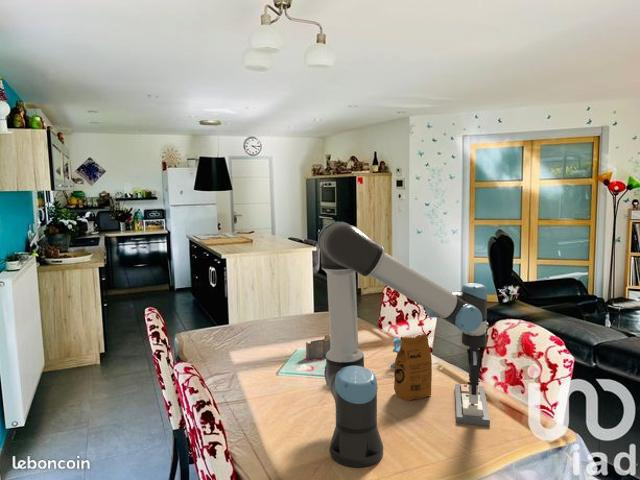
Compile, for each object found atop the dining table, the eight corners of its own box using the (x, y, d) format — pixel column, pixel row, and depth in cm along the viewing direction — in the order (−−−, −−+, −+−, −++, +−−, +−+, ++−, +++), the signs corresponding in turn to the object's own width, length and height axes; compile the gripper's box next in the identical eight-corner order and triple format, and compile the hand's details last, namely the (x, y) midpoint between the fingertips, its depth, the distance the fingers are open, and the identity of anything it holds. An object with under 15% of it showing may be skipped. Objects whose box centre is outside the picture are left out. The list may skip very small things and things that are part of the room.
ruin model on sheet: (328, 354, 218) (328, 333, 217) (331, 356, 215) (331, 335, 214) (305, 358, 213) (305, 337, 212) (308, 360, 210) (308, 339, 209)
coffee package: (390, 391, 177) (390, 333, 174) (420, 386, 181) (420, 329, 178) (404, 403, 167) (404, 341, 165) (434, 397, 172) (435, 337, 169)
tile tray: (489, 426, 151) (489, 420, 150) (456, 422, 153) (456, 416, 153) (483, 391, 176) (483, 386, 175) (455, 389, 178) (455, 383, 178)
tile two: (480, 409, 161) (481, 401, 160) (462, 407, 162) (462, 400, 162) (479, 401, 166) (479, 394, 166) (461, 400, 168) (461, 392, 168)
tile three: (479, 399, 168) (479, 391, 168) (461, 397, 170) (461, 390, 170) (478, 392, 174) (478, 384, 174) (460, 390, 176) (460, 383, 175)
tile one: (482, 417, 153) (482, 409, 153) (463, 415, 154) (463, 407, 154) (481, 408, 159) (481, 401, 158) (462, 407, 160) (462, 399, 160)
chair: (413, 363, 205) (414, 335, 204) (408, 369, 197) (409, 341, 196) (396, 360, 208) (396, 333, 207) (390, 367, 200) (390, 339, 199)
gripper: (488, 339, 146) (487, 413, 149) (484, 326, 159) (484, 395, 162) (462, 337, 148) (462, 410, 151) (461, 325, 161) (460, 393, 163)
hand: (473, 402), depth 156 cm, fingers closed
